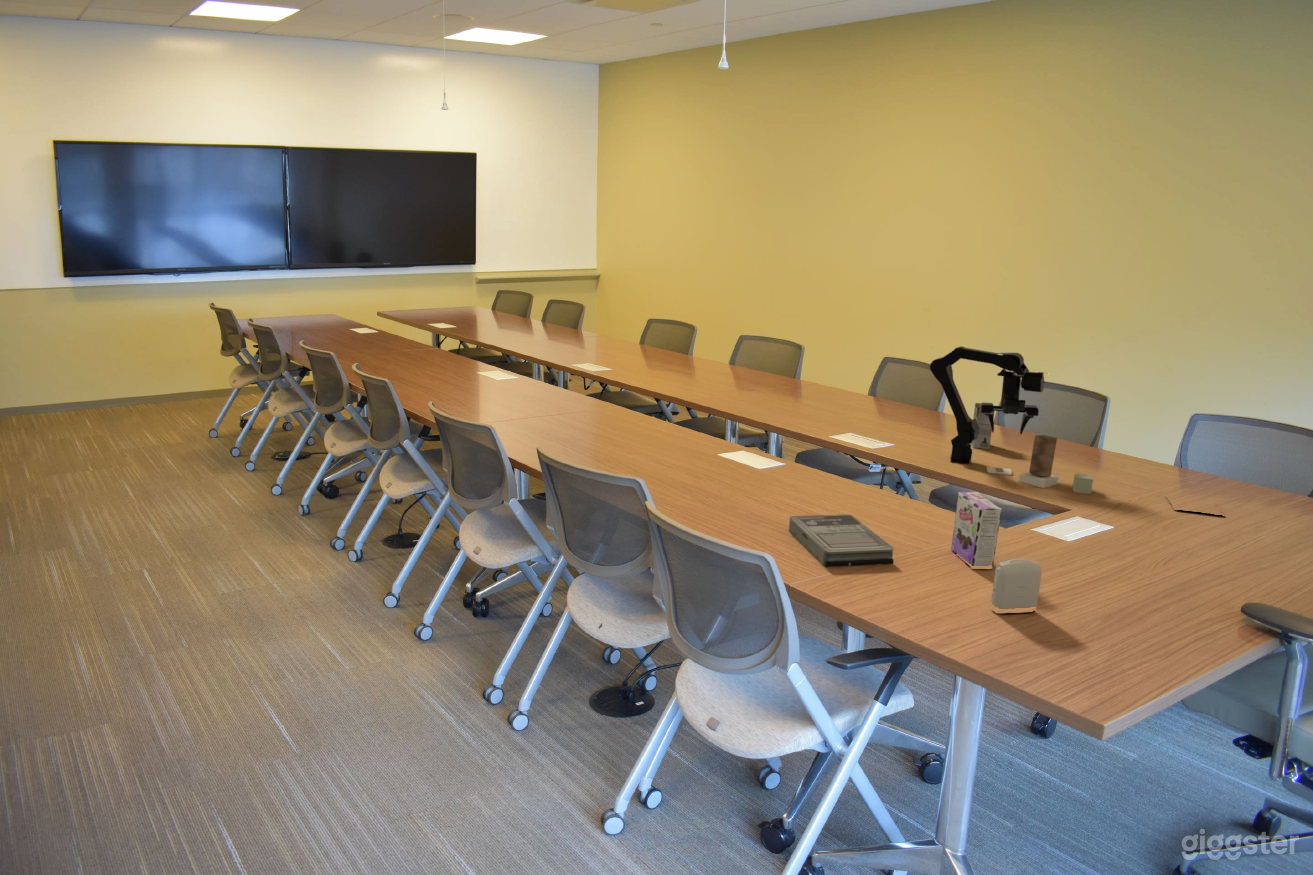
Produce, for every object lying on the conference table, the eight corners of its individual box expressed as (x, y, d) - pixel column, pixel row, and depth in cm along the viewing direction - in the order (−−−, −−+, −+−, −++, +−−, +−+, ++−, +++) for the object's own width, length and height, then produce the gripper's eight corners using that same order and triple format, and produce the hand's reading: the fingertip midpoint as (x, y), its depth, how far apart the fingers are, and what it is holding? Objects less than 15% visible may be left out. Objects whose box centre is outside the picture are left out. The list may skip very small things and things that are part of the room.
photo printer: (996, 616, 205) (1004, 564, 202) (986, 607, 209) (994, 556, 206) (1038, 614, 206) (1046, 562, 203) (1028, 606, 210) (1035, 555, 207)
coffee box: (969, 442, 363) (974, 402, 359) (986, 443, 362) (992, 403, 358) (972, 447, 354) (978, 407, 350) (990, 449, 353) (995, 408, 349)
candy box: (949, 550, 244) (957, 490, 240) (971, 550, 245) (979, 491, 241) (971, 570, 231) (979, 507, 227) (994, 570, 231) (1002, 508, 227)
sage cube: (1074, 492, 301) (1076, 477, 300) (1072, 488, 306) (1074, 473, 305) (1090, 494, 300) (1093, 479, 299) (1088, 490, 305) (1091, 475, 303)
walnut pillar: (1028, 473, 311) (1035, 435, 309) (1037, 472, 314) (1043, 435, 311) (1042, 476, 307) (1048, 438, 305) (1050, 475, 310) (1057, 437, 308)
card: (987, 472, 320) (987, 470, 320) (986, 468, 326) (986, 465, 326) (1011, 475, 318) (1012, 473, 318) (1010, 470, 324) (1010, 468, 323)
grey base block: (1018, 482, 311) (1019, 474, 311) (1032, 478, 317) (1033, 470, 316) (1043, 489, 305) (1044, 480, 304) (1057, 485, 310) (1058, 476, 310)
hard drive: (825, 568, 229) (826, 552, 228) (787, 531, 254) (788, 516, 253) (893, 565, 233) (894, 549, 232) (849, 529, 258) (850, 514, 257)
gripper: (984, 391, 314) (980, 436, 318) (1042, 394, 309) (1037, 440, 313) (982, 386, 325) (978, 429, 328) (1038, 389, 320) (1034, 433, 323)
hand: (1006, 433), depth 323 cm, fingers open, 9 cm apart
